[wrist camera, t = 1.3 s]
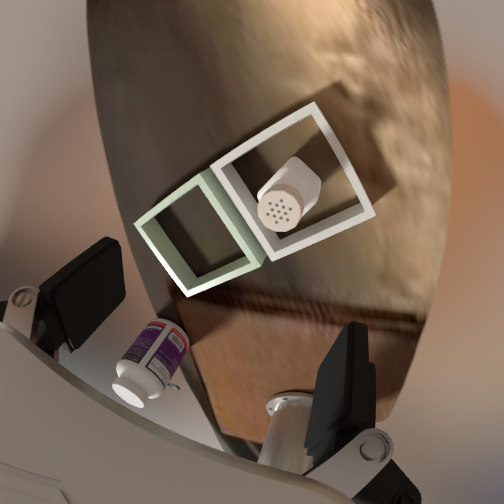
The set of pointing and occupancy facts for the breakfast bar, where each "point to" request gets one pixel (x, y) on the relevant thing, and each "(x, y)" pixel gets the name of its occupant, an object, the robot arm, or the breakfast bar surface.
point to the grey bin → (249, 205)
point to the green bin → (230, 218)
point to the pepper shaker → (288, 195)
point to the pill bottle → (150, 362)
